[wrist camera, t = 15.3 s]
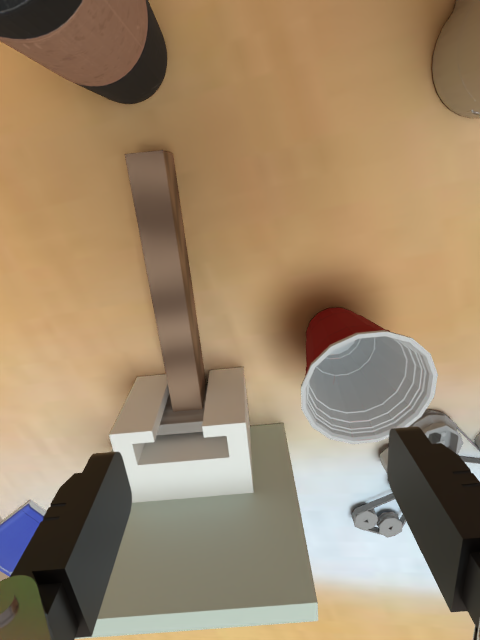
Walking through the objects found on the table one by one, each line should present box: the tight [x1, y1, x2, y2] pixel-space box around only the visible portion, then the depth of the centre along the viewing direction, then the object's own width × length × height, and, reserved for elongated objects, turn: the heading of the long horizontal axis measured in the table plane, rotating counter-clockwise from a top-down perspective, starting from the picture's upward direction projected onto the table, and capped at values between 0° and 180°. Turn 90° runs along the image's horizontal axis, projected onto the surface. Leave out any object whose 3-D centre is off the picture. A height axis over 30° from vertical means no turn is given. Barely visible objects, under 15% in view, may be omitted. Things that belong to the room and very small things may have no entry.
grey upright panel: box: [75, 367, 318, 639], centre depth 34 cm, size 10×20×20 cm, turn 96°
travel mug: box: [0, 0, 167, 104], centre depth 22 cm, size 8×8×20 cm
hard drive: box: [0, 500, 47, 577], centre depth 51 cm, size 2×8×12 cm
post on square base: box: [125, 150, 208, 436], centre depth 35 cm, size 25×7×7 cm, turn 5°
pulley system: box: [352, 409, 480, 538], centre depth 45 cm, size 27×5×15 cm
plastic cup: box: [301, 307, 438, 444], centre depth 35 cm, size 11×11×12 cm
